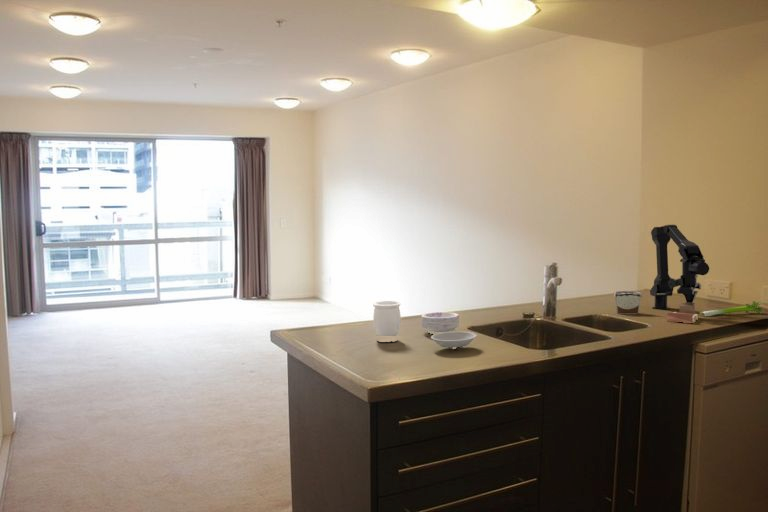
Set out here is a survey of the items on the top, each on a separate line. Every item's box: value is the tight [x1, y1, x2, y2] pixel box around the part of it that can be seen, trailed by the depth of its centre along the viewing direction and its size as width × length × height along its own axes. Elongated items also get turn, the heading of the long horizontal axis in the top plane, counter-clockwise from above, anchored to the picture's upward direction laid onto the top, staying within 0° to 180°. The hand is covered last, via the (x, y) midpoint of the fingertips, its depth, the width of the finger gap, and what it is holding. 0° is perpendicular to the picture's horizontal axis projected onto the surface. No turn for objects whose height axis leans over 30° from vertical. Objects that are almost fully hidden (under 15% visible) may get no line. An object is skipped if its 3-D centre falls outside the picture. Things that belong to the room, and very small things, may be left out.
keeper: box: [679, 301, 696, 315], centre depth 272 cm, size 5×5×6 cm
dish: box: [430, 331, 478, 349], centre depth 223 cm, size 18×14×5 cm
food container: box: [613, 290, 643, 315], centre depth 287 cm, size 12×6×10 cm, turn 84°
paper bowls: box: [421, 311, 460, 332], centre depth 250 cm, size 15×15×8 cm
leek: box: [699, 300, 764, 318], centre depth 278 cm, size 6×7×30 cm
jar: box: [372, 300, 402, 336], centre depth 238 cm, size 11×10×15 cm
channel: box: [666, 311, 699, 324], centre depth 266 cm, size 11×10×4 cm
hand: (689, 307), depth 274 cm, fingers closed
